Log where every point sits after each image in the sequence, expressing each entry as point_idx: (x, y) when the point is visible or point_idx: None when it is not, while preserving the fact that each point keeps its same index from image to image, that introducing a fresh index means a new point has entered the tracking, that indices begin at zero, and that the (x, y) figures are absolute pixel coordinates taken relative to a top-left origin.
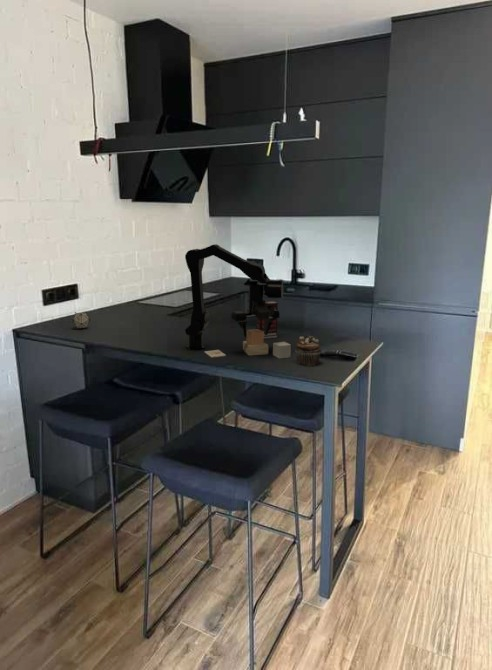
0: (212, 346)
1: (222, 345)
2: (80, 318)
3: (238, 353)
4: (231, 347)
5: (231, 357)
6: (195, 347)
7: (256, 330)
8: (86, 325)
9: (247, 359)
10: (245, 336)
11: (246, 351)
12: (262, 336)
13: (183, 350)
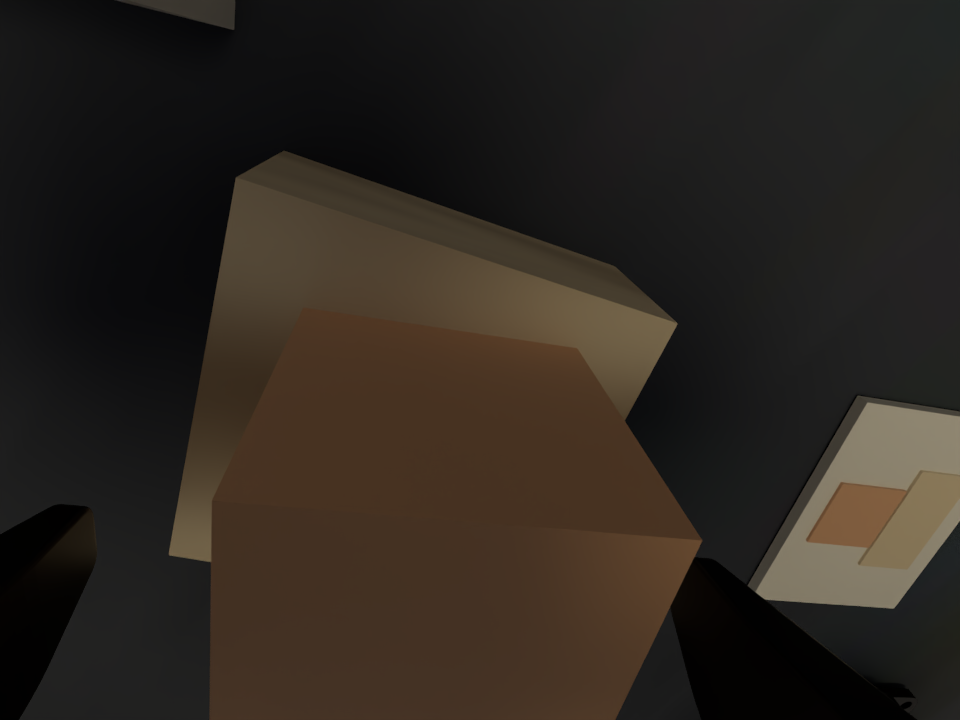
0: (669, 714)
1: None
2: None
3: (654, 415)
4: None
5: (861, 310)
6: (897, 702)
7: (361, 712)
8: None
9: (794, 81)
10: (712, 568)
11: None
12: (303, 407)
13: (943, 700)
